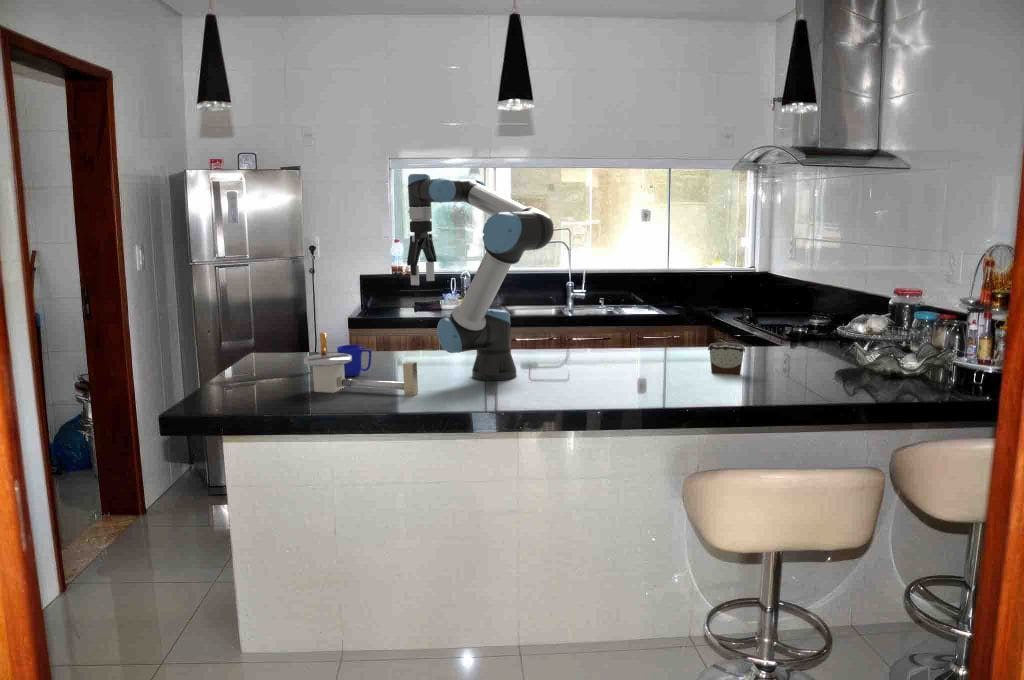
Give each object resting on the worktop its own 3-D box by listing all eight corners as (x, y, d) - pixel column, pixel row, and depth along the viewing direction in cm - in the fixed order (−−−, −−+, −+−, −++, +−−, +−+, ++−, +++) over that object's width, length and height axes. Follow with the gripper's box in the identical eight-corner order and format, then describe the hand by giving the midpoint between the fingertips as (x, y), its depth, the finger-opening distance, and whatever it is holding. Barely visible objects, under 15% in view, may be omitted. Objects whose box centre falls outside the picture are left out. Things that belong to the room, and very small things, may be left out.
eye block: (345, 387, 255) (343, 360, 254) (333, 392, 248) (332, 365, 247) (326, 386, 257) (324, 359, 256) (314, 391, 250) (312, 364, 249)
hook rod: (418, 393, 245) (416, 362, 244) (413, 395, 242) (412, 364, 241) (346, 389, 253) (344, 358, 251) (341, 391, 250) (339, 360, 248)
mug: (367, 378, 268) (366, 349, 266) (334, 377, 270) (333, 348, 269) (376, 373, 276) (375, 345, 274) (344, 372, 278) (342, 344, 276)
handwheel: (341, 354, 261) (340, 330, 260) (359, 361, 249) (357, 336, 248) (297, 360, 253) (295, 335, 252) (313, 368, 241) (312, 342, 239)
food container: (747, 372, 266) (748, 343, 264) (744, 376, 260) (745, 346, 258) (710, 369, 271) (711, 341, 269) (707, 373, 265) (707, 344, 263)
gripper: (424, 219, 278) (426, 278, 281) (394, 221, 254) (397, 286, 258) (444, 219, 275) (446, 279, 279) (416, 221, 252) (418, 287, 256)
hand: (423, 282), depth 269 cm, fingers open, 13 cm apart
